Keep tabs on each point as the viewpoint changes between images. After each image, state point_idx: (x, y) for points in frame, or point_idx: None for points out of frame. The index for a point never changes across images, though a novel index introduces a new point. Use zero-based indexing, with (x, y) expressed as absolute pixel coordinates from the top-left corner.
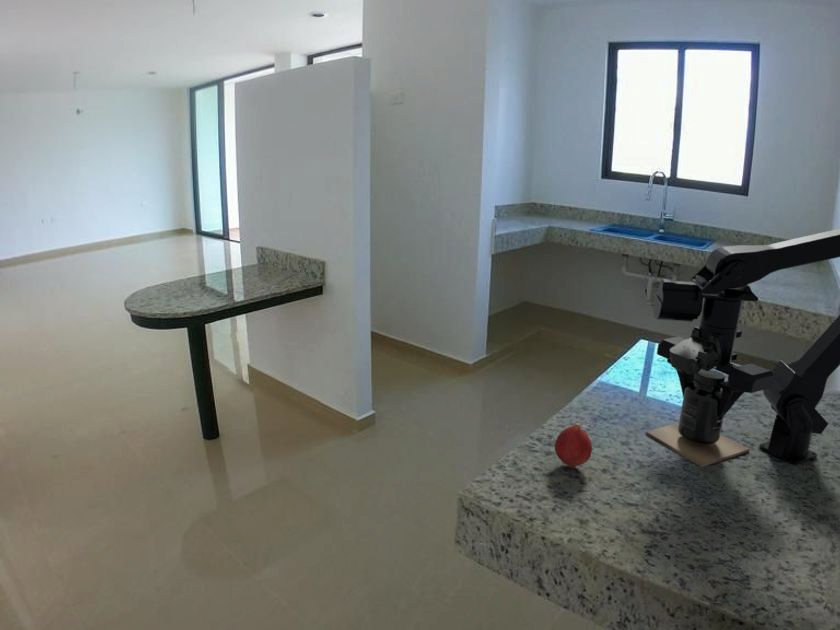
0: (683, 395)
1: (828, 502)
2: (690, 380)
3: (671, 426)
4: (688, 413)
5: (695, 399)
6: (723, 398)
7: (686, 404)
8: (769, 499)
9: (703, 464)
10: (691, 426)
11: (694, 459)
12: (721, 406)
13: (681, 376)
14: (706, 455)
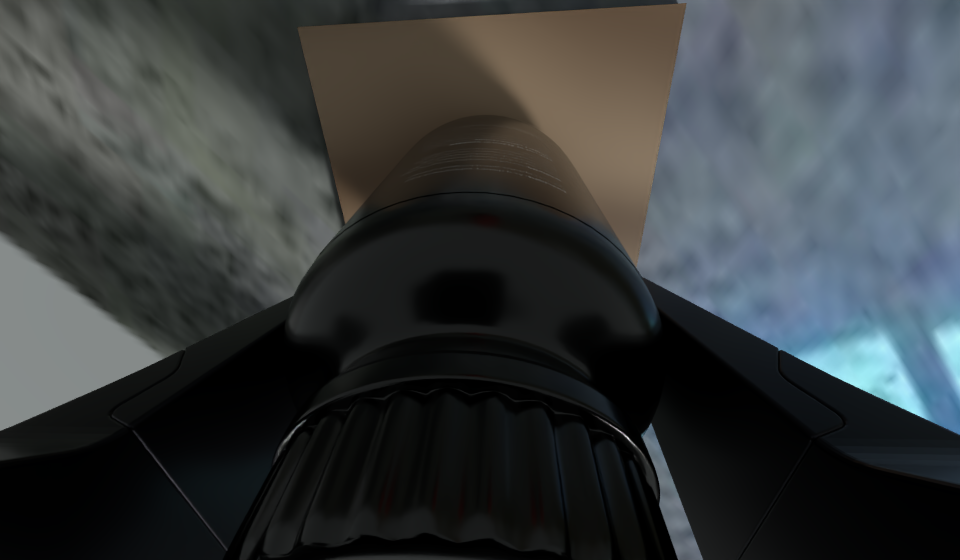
0: (655, 287)
1: (70, 279)
2: (695, 433)
3: (634, 197)
4: (482, 147)
5: (422, 200)
6: (184, 370)
7: (522, 167)
8: (51, 105)
9: (301, 39)
10: (448, 133)
11: (348, 29)
12: (265, 317)
13: (820, 401)
14: (367, 129)
